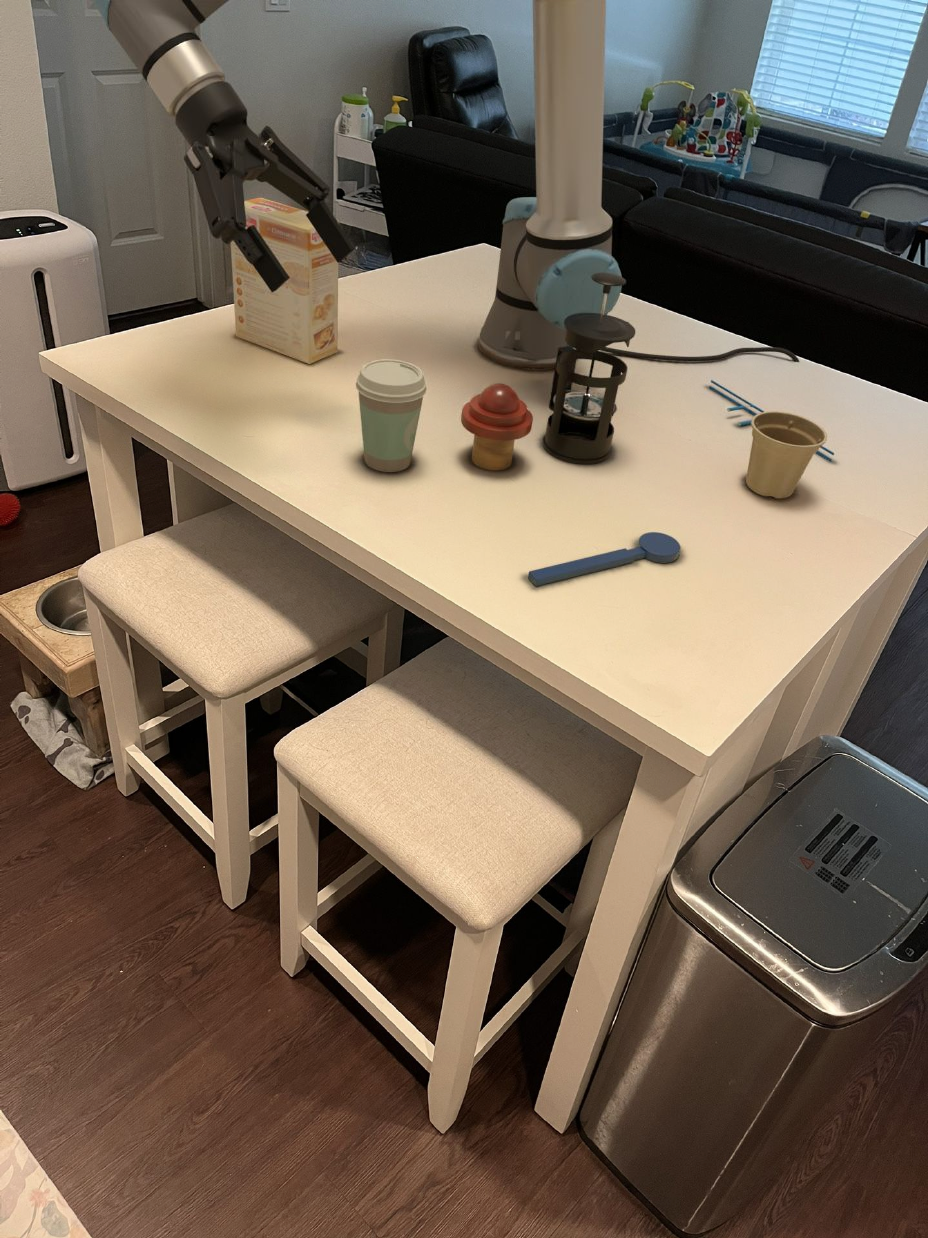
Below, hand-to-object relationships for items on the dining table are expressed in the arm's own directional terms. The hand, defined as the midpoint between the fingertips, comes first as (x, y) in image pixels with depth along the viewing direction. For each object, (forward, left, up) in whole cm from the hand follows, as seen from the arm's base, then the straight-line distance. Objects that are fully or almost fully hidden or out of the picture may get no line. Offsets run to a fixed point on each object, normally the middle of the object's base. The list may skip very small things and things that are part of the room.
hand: (315, 270), depth 107 cm
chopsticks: (-62, +16, -22) cm, 68 cm away
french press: (-32, +13, -22) cm, 41 cm away
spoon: (-20, +38, -21) cm, 48 cm away
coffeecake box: (-6, -29, -22) cm, 37 cm away
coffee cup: (-6, +9, -22) cm, 24 cm away
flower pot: (-51, +31, -22) cm, 64 cm away
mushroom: (-19, +13, -21) cm, 32 cm away
